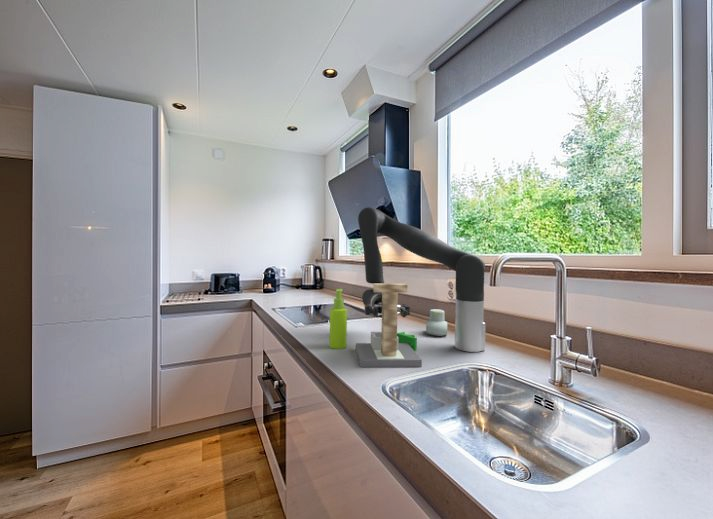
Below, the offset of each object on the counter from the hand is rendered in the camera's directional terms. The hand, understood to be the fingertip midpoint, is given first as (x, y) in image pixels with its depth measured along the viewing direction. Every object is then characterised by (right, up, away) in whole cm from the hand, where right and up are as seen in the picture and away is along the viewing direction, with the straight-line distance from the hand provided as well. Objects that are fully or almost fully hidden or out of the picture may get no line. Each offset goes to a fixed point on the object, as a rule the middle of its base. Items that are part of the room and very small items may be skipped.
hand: (390, 313), depth 93 cm
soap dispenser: (-17, -14, +17) cm, 28 cm away
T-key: (0, -13, +2) cm, 13 cm away
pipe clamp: (+7, -15, +18) cm, 25 cm away
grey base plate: (-1, -15, +6) cm, 16 cm away
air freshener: (+23, -15, +36) cm, 45 cm away
